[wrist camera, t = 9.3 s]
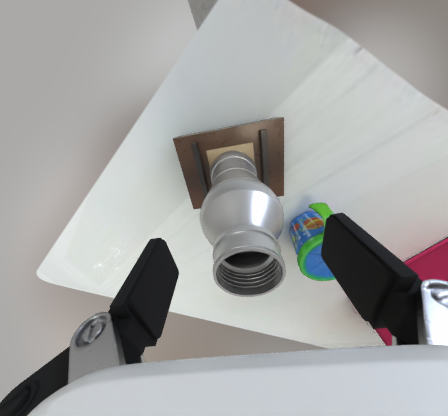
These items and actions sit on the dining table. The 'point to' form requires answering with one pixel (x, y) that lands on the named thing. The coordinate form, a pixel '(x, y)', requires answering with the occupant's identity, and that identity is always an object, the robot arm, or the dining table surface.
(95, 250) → the dining table surface
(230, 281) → the silver metal bottle
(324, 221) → the snack cup
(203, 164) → the brown wooden base
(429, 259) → the storage bin
